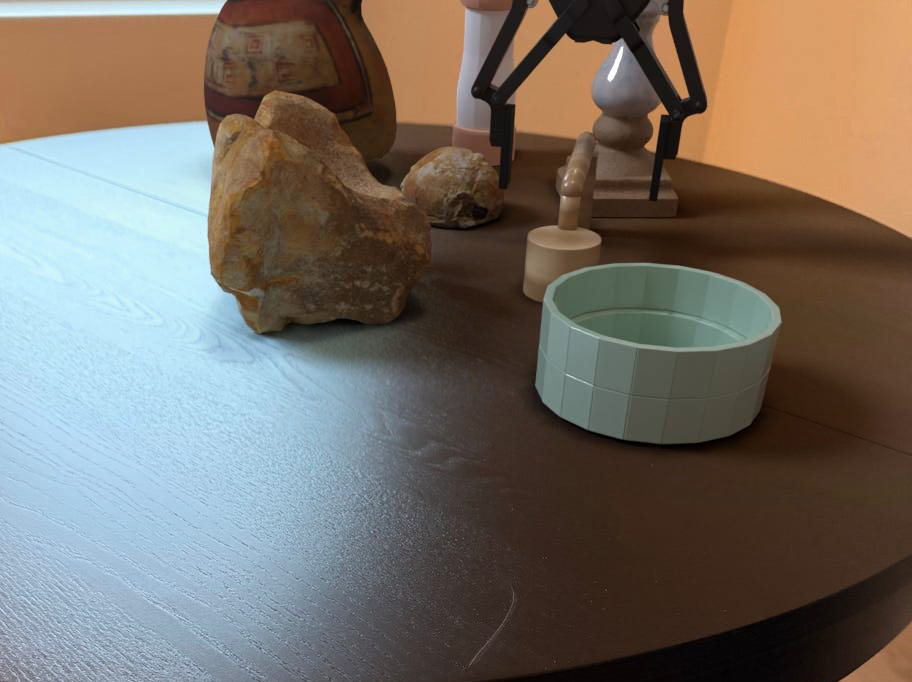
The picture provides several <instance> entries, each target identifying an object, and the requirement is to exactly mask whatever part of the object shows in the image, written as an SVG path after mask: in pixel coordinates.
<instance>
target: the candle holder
mask: <svg viewBox="0 0 912 682" xmlns="http://www.w3.org/2000/svg"><path fill="white" fill-rule="evenodd" d="M661 17H662V15H661V14H660V12H659V9H658V6H657V4H656V3H654V2H649V4H648V6H647V7H646V8H645V10H644V11H643V12H642V13H641V15H640V16H639V17H638V19H637V20H636V21H637V23H638V24H639V26H640V28H641V29H642V31H643V33H644V35H645V37H646V39H647V41H648V43H649V44H650V46H651V48H652V49H653V51H654V53H655V55H656V56H657V54H656V51H655V46H654V41H653V36H654V32H655V29H656V28H657V25H658V24H659V23H660V21H661ZM590 95H591V99H592V101H593V103H594V105H595V106H596V107H597V108H598V109H599V110H601V114H600V115H599V116H598V117H597V118H596V120H595V121H594V123H593V125H592V131H591V133H592V134H594V136H595V138H596V146H595V150H594V151H598V152H599V155H598V164H597V172H596V181H595V189H594V198H593V206H592V215H591V218H674V217H677V211H678V204H679V197H678V196H679V195H677V193H676V191H674V189H673V187H672V183H673V180H672V177H671V176H670V174H669V173H668V171H667V170H666V169H665V168H664V166H662V172H661V179H660V185H659V192H658V199H657V201H649V193H650V186H651V180H652V173H653V166H654V159H655V154H653V153H652V152H651V151H649V150H648V149H647V148H646V145H647V144H648V143H649V142H650V141H651V140H652V138H653V135H654V124H653V123H652V121H651V120H650V118H649V114H650V113H652V112H654V111H655V110H657V109H658V108H659V106H660V105H661V104H662V102H661V100H660V99H659V97H658V95H657V94H656V92H655V90H654V89H653V87H652V85H651V84H650V82H649V80H648V79H647V77H646V75H645V74H644V72H643V70H642V69H641V67H640V65H639V63H638V62H637V60H636V58H635V57H634V55H633V53H632V52H631V51H630V50H629V48H628V47H627V45H626V43H625V42H624V40H623V38H621V39H620V40H619V41H617V42H615V43H613V44H612V47H611V49H610V51H609V53H608V54H607V55H606V57H605V58H604V60H603V61H602V63H601V64H600V65H599V67H598V69H597V71H596V72H595V74H594V76H593V78H592V81H591V85H590ZM571 155H572V154H569V155H568V156H567V157H566V161H565V165H564V166H560V167H558V168H557V170H556V178H555V190H556V192H557V193H558V196H559V197H560V198H561V192H560V187H561V184H562V181H563V178H564V175H565V173H566V170H567V167H568V164H569V161H570V158H571Z"/></svg>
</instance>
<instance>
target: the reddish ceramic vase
mask: <svg viewBox="0 0 912 682" xmlns="http://www.w3.org/2000/svg"><path fill="white" fill-rule="evenodd" d="M362 3H363V0H226V1H225V2H224V4H223V6H222V7H221V8H220V10H219V13H218V16H217V17H216V20H215V21H214V23H213V26H212V30H211V31H210V35H209V39H208V42H207V46H206V53H205V62H204V69H203V98H204V99H203V100H204V109H205V114H206V121H207V126H208V130H209V135H210V138H211V141H212V145H213V149H215V142H216V136H217V131H218V128H219V125H220V123H221V122H222V121H223V119H224V118H225V117H226V116H228V115H232V114H241V115H246V116H248V117H250V118H252V119H254V118H255V116H256V114H257V111H258V109H259V107H260V104H261V102H262V100H263V98H264V96H266V95H267V94H269V93H271V92H273V91H274V90H275V91H281V92H287V93H292V94H296V95H300V96H304V97H306V98H309V99H311V100H313V101H315V102H316V103H318V104H320V105H322V106H323V107H325V108H327V109H328V110H329V111H330V112H332V113H335V115H336V118H337V120H338V123H339V126H340V127H341V128H342V129H343V131H344V132H345V133H346V134H347V135H348V136H349V138H350V140H351V142H352V144H353V146H354V147H355V148H356V149H357V150H358V151H359V152H360V153H361V155H362V157H363V159H364V161H365V164H366V165H368V164H369V163H372V162H373V161H376V160H379V159H383V158H384V157H385V156H386V155H387V154H389V153H390V151H391V150H392V149H393V146H394V144H395V142H396V138H397V130H398V126H397V125H398V124H397V122H398V121H397V107H396V100H395V96H394V95H395V93H394V90H393V85H392V81H391V77H390V74H389V70H388V66H387V64H386V62H385V60H384V56H383V55H382V52H381V51H380V48H379V46H378V44H377V42H376V40H375V38H374V35H373V34H372V33H371V31H370V29H369V27H368V26H367V23H366V22H365V20H364V17H363V14H362V13H363V11H362Z"/></svg>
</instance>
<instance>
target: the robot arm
mask: <svg viewBox="0 0 912 682" xmlns="http://www.w3.org/2000/svg"><path fill="white" fill-rule="evenodd" d="M539 1H540V0H513V1H512V7H511V9H510V11H509V13H508V15H507V17H506V19H505V21H504V23H503V25H502V27H501V30H500V32H499V34H498V36H497V38H496V40H495V42H494V44H493V46H492V48H491V50H490V52H489V54H488V56H487V58H486V60H485V62H484V64H483V66H482V68H481V70H480V72H479V74H478V76H477V78H476V80H475V82H474V84H473V86H472V88H471V94H472V96H473V97H474V98H475V99H481V100H483V101H485V102H486V103H488V104H489V106H490V108H491V119H490V137H489V141H490V144H491V146H493V147H501V153H500V165H499V170H498V171H499V172H498V177H499V187H498V189H503V190H508V187H509V185H510V184H511V181H512V164H513V161H512V152H513V137H514V124H515V122H516V121H515V119H516V106H517V105H516V103H515V104H507V100H508V99H509V98H510V97H511V96H512V95H513V93H514V92H515V91H516V92H517V91H518V89H519V88H520V87H521V86H522V85H523V83H524V82H525V81H526V80H527V79H528V77H530V75H531V74H532V73H533V72H534V71H535V69H536V68H537V67H538V66H539V65H540V64H541V62H542V61H543V60H544V59H545V58H546V57H547V55H548V54H549V53H550V52H551V51H552V50H553V48H554V47H555V46H557V44H558V43H559V42H560V41H561V40H562V38H564V36H565V35H566V36H567V37H568V38H569V39H570V40H572V41H574V43H580V44H585V43H589V42H596V43H598V44H601V45H612V46H613V44H614V43H615V42H617V41H619V40H620V39H621V38H623V40H624V42H625V43H626V45H627V47H628V48H629V50H630V51H631V52H632V53H633V55H634V57H635V58H636V60H637V62H638V63H639V65H640V67H641V69H642V70H643V72H644V74H645V75H646V77H647V79H648V80H649V82H650V84H651V85H652V87H653V89H654V90H655V92H656V94H657V95H658V97H659V99H660V100H661V102H662V103H661V104H662V105H663V107H664V108H665V110H666V112H667V114H665V113H664V114H663V113H661V114H660V119H659V126H658V133H657V140H656V147H655V153H654V156H655V159H654V166H653V173H652V180H651V186H650V193H649V201H657V199H658V192H659V185H660V179H661V172H662V167H664V160H672V161H675V160H676V158H677V156H678V155H679V149H680V142H681V135H682V131H683V125H684V122H685V120H686V119H687V118H688V117H691V116H694V115H701V114H704V113H705V112H706V111H707V110H708V97H707V93H706V89H705V86H704V82H703V77H702V75H701V72H700V68H699V64H698V61H697V57H696V53H695V49H694V46H693V42H692V39H691V35H690V31H689V28H688V24H687V21H686V17H685V13H684V8H685V7H684V5H685V0H548V2H549V4H550V6H551V8H552V10H553V12H554V14H555V16H556V19H555V20H554V22H552V24H551V25H550V26H549V27H548V28H547V30H546V31H545V33H544V34H542V36H541V37H540V38H539V40H537V42H536V43H535V44H534V46H532V48H531V49H530V50H529V52H527V54H526V55H525V56H524V57H523V59H521V60H520V61H519V63H518V64H517V66H516V67H514V70H513V71H512V73H511V74H510V75H509V76H508V77H507V78H506V80H505V81H504V82H503V83H502V84H501V86H500V87H497V86H495V85H493V84H491V82H492V80H493V78H494V76H495V74H496V72H497V70H498V68H499V66H500V64H501V63H502V61H503V59H504V57H505V55H506V53H507V51H508V49H509V47H510V45H511V43H512V41H513V39H514V40H515V37H516V35H517V32H518V31H519V29H520V27H521V25H522V23H523V21H524V19H525V17H526V15H527V13H528V10H529V9H534V8H535V7H536V6H537V5H538V3H539ZM649 2H654V3H656V4H657V6H658V9H659V12H660V14H661V16H663V17H667V19H668V26H669V31H670V34H671V37H672V42H673V44H674V48H675V51H676V55H677V59H678V61H679V65H680V69H681V73H682V76H683V80H684V84H685V86H686V90H687V93H688V97H685V98H682V96H680V94H679V92H678V90H677V89H676V87H675V85H674V84H673V82H672V80H671V79H670V77H669V75H668V74H667V72H666V70H665V68H664V66H663V65H662V63H661V61H660V60H659V58H658V56H657V54H656V52H655V53H654V51H653V49H652V48H651V46H650V44H649V43H648V41H647V39H646V37H645V35H644V33H643V31H642V29H641V28H640V26H639V24H638V23H637V21H636V20H637V19H638V17H639V16H640V15H641V13H642V12H643V11H644V10H645V8H646V7H647V6H648V4H649ZM655 54H656V55H655Z"/></svg>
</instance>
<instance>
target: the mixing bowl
mask: <svg viewBox="0 0 912 682" xmlns="http://www.w3.org/2000/svg"><path fill="white" fill-rule="evenodd" d="M541 309H542V311H541V320H540V321H541V322H540V332H539V342H538V354H537V363H536V365H537V366H536V375H535V384H534V385H535V388H536V391H537V393H538V396H539V398H540V400H541V402H542V403H543V404H544V405H545V406H546V407H547V408H549V409H550V410H551V411H552V412H553V413H554V414H555V415H557V416H558V417H559V418H561V419H563V420H565V421H568V422H569V423H572V424H574V425H575V426H578V427H580V428H582V429H584V430H586V431H589V432H592V433H596V434H599V435H604V436H607V437H610V438H614V439H619V440H622V441H623V440H624V441H631V442H639V443H648V444H657V445H676V444H677V445H679V444H698V443H699V444H700V443H704V442H708V441H712V440H717V439H721V438H726V437H727V438H728V437H730V436H732V435H734V434H736V433H738V432H740V431H741V430H743V429H746V428H747V427H749V426H751V425H752V423H753V421H754V420H755V419H756V417H757V416H758V414H759V413H760V411H761V409H762V405H763V401H764V397H765V392H766V388H767V384H768V380H769V376H770V372H771V367H772V364H773V359H774V355H775V351H776V347H777V343H778V339H779V335H780V331H781V327H782V323H783V322H782V316H781V310H780V307H779V306H778V304H776V303H775V302H774V301H773V300H772V299H771V298H770V297H769V296H768V295H767V294H766V293H765V292H763V291H761V290H759V289H757V288H755V287H753V286H752V285H750V284H748V283H746V282H744V281H741V280H738V279H735V278H732V277H729V276H726V275H723V274H721V273H717V272H714V271H709V270H704V269H700V268H694V267H690V266H683V265H677V264H676V265H675V264H665V263H653V262H621V263H620V262H618V263H617V262H616V263H608V264H599V266H593V267H586V268H582V269H579V270H576V271H573V272H570V273H567V274H564V275H562V276H560V277H559V278H558V279H556V280H555V281H554V282H552V283H551V284H550V285H548V286H547V289H546V292H545V296H544V299H543V303H542V308H541Z"/></svg>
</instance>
